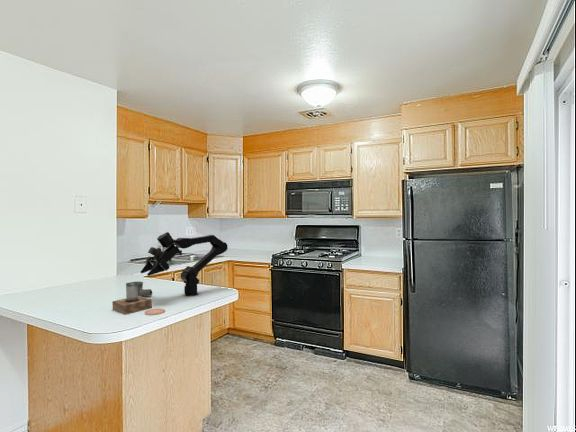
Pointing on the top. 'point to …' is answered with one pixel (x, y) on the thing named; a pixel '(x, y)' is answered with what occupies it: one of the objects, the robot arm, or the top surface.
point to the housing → (132, 305)
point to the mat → (155, 311)
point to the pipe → (143, 290)
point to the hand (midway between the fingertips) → (144, 273)
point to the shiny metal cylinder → (131, 292)
